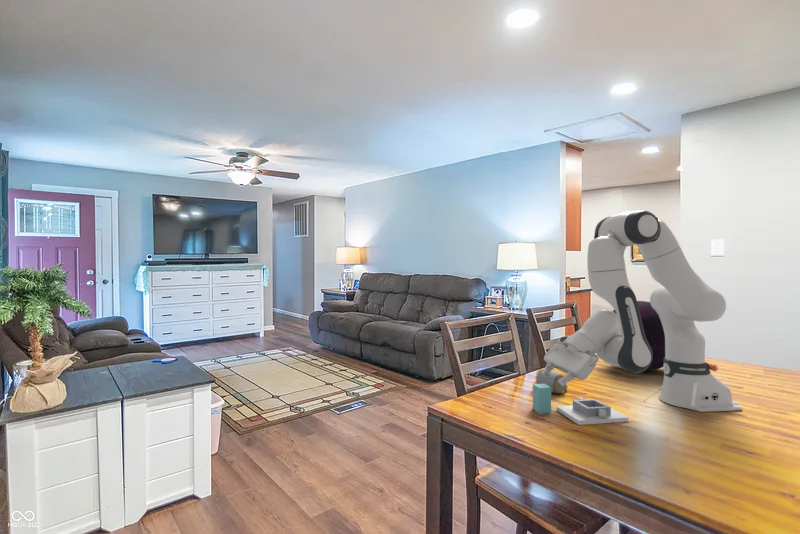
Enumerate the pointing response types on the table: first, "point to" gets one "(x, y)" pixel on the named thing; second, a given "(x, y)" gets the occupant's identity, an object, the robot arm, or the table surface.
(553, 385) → the ceramic mug
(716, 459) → the table surface
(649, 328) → the black purple ball
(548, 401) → the block
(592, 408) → the housing plate
